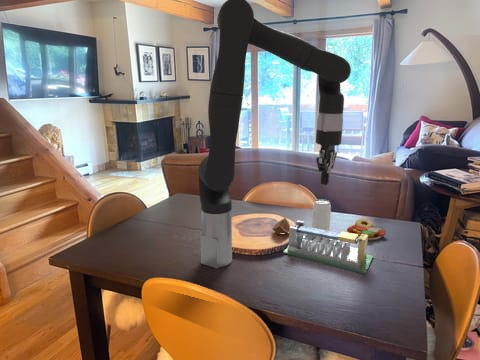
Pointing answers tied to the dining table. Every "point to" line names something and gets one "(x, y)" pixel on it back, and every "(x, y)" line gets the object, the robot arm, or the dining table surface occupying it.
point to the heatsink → (329, 250)
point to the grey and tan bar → (329, 234)
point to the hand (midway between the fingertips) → (324, 183)
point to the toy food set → (366, 229)
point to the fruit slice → (282, 226)
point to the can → (321, 214)
